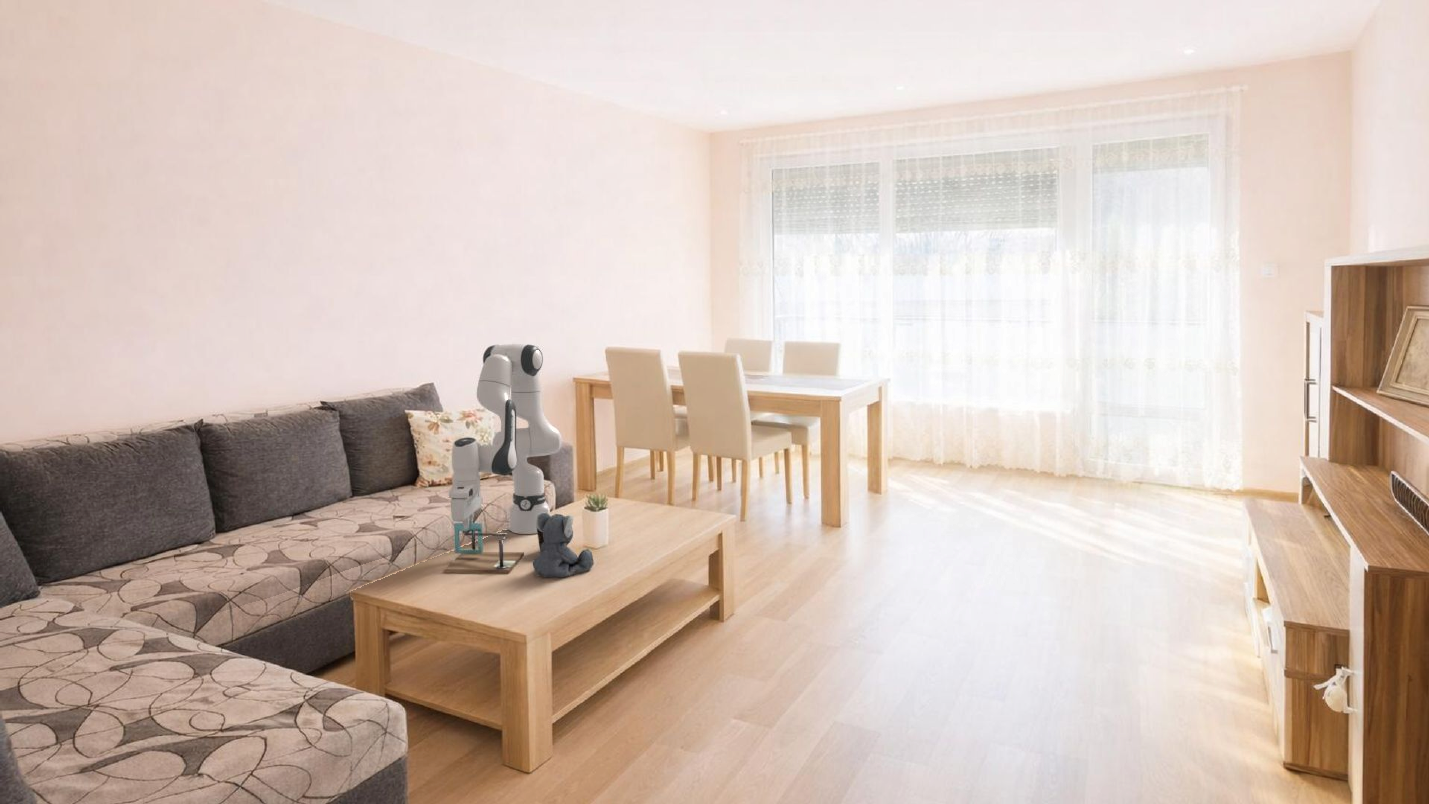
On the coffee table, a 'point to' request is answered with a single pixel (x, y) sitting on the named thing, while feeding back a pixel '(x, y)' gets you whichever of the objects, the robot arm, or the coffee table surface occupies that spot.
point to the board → (484, 562)
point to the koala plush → (559, 548)
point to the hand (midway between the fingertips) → (468, 527)
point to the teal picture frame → (473, 527)
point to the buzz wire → (490, 535)
